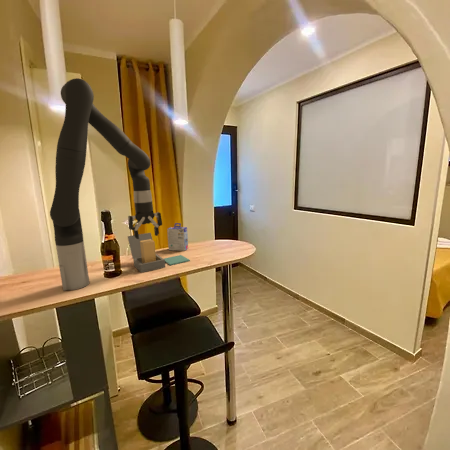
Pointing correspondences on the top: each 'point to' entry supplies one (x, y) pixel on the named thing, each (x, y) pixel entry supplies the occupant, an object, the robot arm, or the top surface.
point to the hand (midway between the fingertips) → (147, 237)
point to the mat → (176, 260)
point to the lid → (137, 244)
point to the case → (149, 264)
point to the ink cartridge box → (177, 238)
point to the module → (148, 251)
